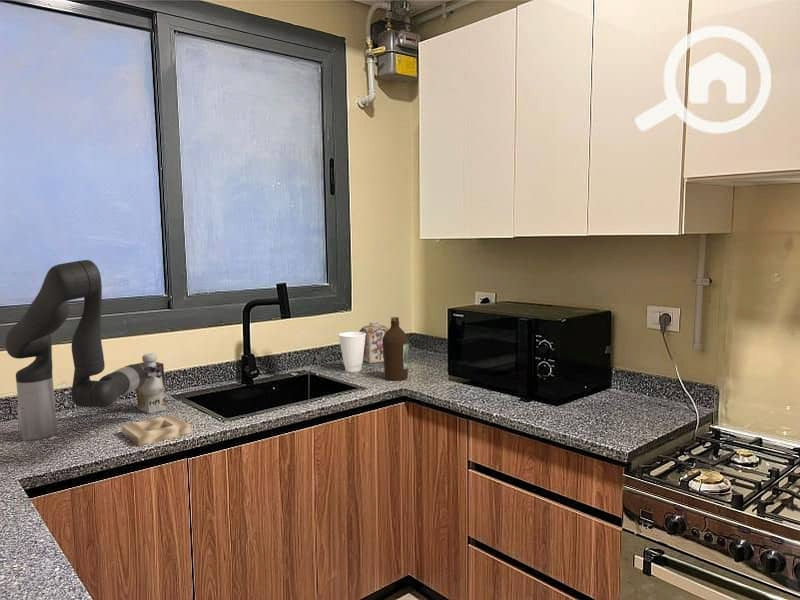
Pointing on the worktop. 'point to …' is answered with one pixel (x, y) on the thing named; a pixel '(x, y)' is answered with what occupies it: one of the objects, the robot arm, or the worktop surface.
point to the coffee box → (152, 396)
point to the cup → (352, 350)
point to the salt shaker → (153, 383)
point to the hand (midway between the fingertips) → (154, 367)
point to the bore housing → (156, 429)
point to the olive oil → (395, 352)
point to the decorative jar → (373, 342)
